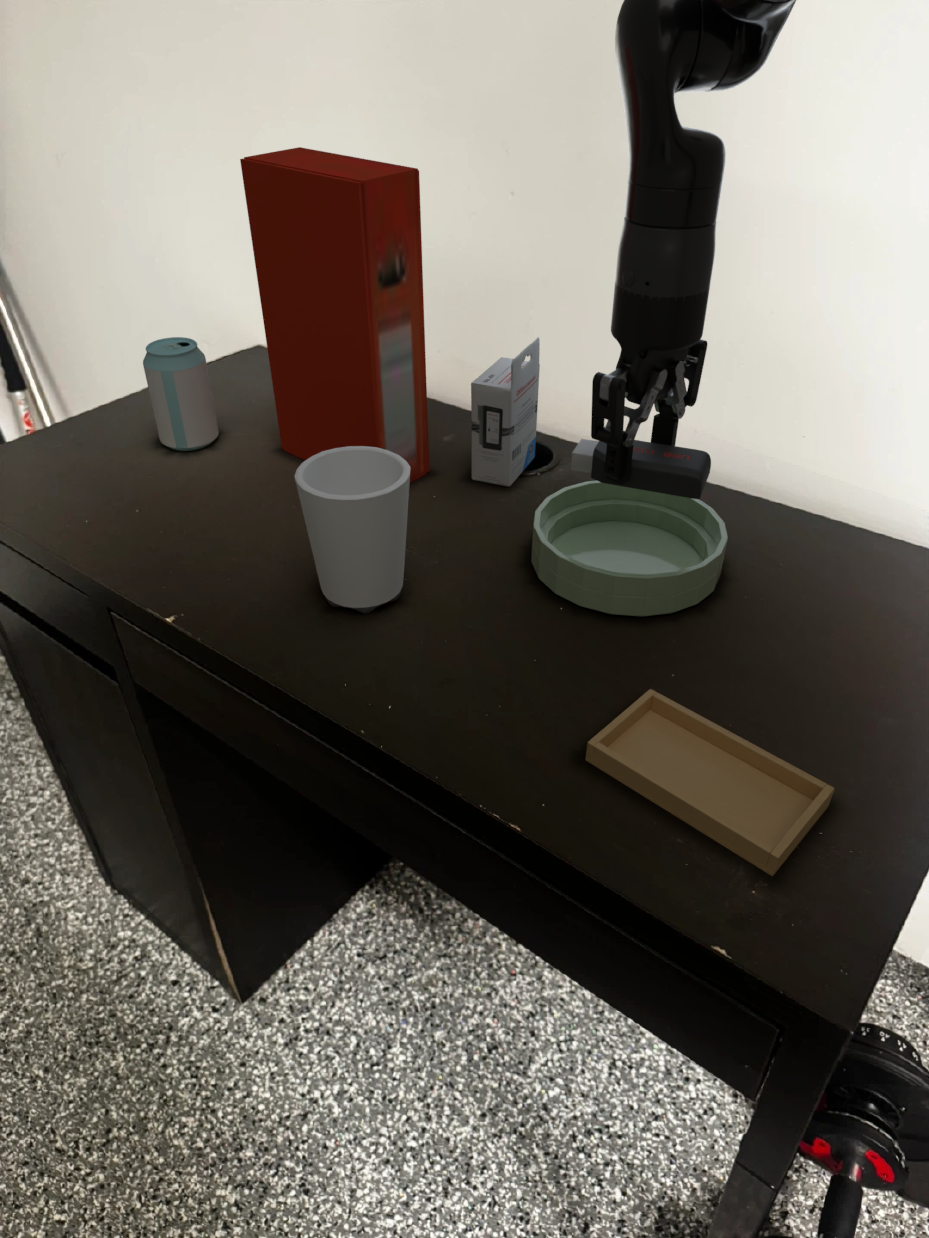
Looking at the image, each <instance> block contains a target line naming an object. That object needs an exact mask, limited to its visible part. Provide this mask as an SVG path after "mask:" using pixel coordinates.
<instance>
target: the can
mask: <svg viewBox="0 0 929 1238" xmlns="http://www.w3.org/2000/svg"><path fill="white" fill-rule="evenodd" d="M145 351H146V354H145V355H144V358H143V360H142V366H143V370H144V375H145V380H146V384H147V388H148V392H149V397H150V402H151V406H152V410H153V415H154V420H155V425H156V429H157V433H158V438H159V441H160V443H161V444H162V445H163V446H166V447H168V448H170V449H172V450H175V451H181V452H189V451H195V450H196V451H197V450H200V449H203V448H206V447H208V446H209V445H211V444H212V443H213V442H214V441H215V440H216V439H217V438H218V437H219V434H220V433H219V426H218V421H217V415H216V409H215V404H214V403H215V402H214V397H213V392H212V386H211V382H210V381H211V380H210V376H209V375H210V374H209V370H208V365H207V359H206V355H205V354H204V352H203V351H202V350H201V349H200V348H199V347H198V342H197V341H196V340H194V339H192V338H190V337H182V336H174V337H164V338H159V339H156V340H154V341H151V342H150V343H148V344H147V345H145Z"/></svg>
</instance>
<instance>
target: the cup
mask: <svg viewBox="0 0 929 1238" xmlns="http://www.w3.org/2000/svg"><path fill="white" fill-rule="evenodd" d="M410 468H411V467H410V466H409V464H408V463H407V461H406V460H405V459H403V458H402V457H401V456H399V455H397V454H395V453H393V452H391V451H388V450H385V449H381V448H377V447H368V446H348V447H341V448H334V449H330V450H326V451H322V452H320V453H318V454H316V455H313V456H311V457H310V458H308V459H307V460H303V461H302V462H301V463H300V464H299V466H298V467H297V469H296V470H295V474H294V481H295V485H296V489H297V494H298V498H299V503H300V506H301V511H302V514H303V519H304V524H305V528H306V532H307V535H308V536H307V537H308V541H309V544H310V545H309V546H310V549H311V553H312V556H313V561H314V565H315V570H316V574H317V579H318V582H319V586H320V590H321V592H322V594H323V595H324V597H325V600H326V602H328V604H329V605H330V606H331V607H334V608H339V607H343V608H349V609H351V610H355V611H357V612H359V613H361V614H369V613H371V612H372V611H374V610H375V609H376V608H378V607H380V606H381V605H384V604H386V603H390V602H395V601H398V599H399V597H400V595H401V593H402V589H403V587H404V575H405V562H406V561H405V560H406V546H407V545H406V544H407V529H408V516H409V515H408V513H409V500H410V499H409V497H410V483H411V482H410Z"/></svg>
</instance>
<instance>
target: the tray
mask: <svg viewBox="0 0 929 1238" xmlns="http://www.w3.org/2000/svg"><path fill="white" fill-rule="evenodd" d="M584 760H585V761H586V762H587V763H589V764H591V765H592V766H594V767H595V768H597V769H598V770H600V771H602V772H604V773H605V774H607V775H608V776H610V777H611V778H613V779H614V780H617V781H618V782H620V783H621V784H623V785H625V786H626V787H628V788H629V789H631V790H633V791H634V792H636V793H637V794H638V795H641V796H642V797H644V798H645V799H647V800H648V801H650V802H652V803H654V804H655V805H656V806H658V807H660V808H662V809H663V810H665V811H666V812H668V813H669V814H671V815H673V816H674V817H676V818H677V819H679V820H681V821H683V823H686V824H687V825H689V826H690V827H692V828H694V829H695V830H697V831H698V832H700V833H702V834H703V835H705V836H706V837H708V838H710V839H711V840H713V841H714V842H716V843H717V844H719V845H721V846H722V847H724V848H726V849H727V850H729V851H731V852H732V853H734V854H736V855H737V856H738V857H740V858H741V859H743V860H745V861H747V862H748V863H750V864H751V865H753V866H755V867H756V868H758V869H759V870H761V871H763V872H765V873H766V874H767V875H769V876H771V877H773V876H774V875H775V874H776V873H777V872H778V870H779V869H780V868H781V867H782V866H783V864H784V863H785V862H786V860H787V859H788V858H789V857H790V855H791V854H792V853H793V852H794V851H795V849H796V848H797V847H798V845H800V843H801V841H802V840H804V838H805V836H806V835H807V834H808V833H809V832H810V830H811V829H812V828H813V826H814V825H816V823H817V822H818V821H819V819H820V818H821V816H822V815H823V814H824V813H825V811H826V810H827V809H828V808H829V806H830V803H831V800H832V798H833V795H834V792H835V788H836V787H834V786H832V785H830V784H828V783H826V782H824V781H822V780H821V779H819V778H817V777H815V776H813V775H811V774H809V773H807V772H806V771H804V770H802V769H800V768H798V767H797V766H795V765H793V764H791V763H789V762H787V761H785V760H784V759H782V758H781V757H778V756H776V755H774V754H772V753H771V752H769V751H767V750H765V749H763V748H762V747H759V746H757V745H756V744H754V743H752V742H750V741H748V740H747V739H745V738H743V737H742V736H739V735H737V734H735V733H733V732H731V731H730V730H728V729H726V728H724V727H722V726H721V725H719V724H717V723H716V722H713V721H712V720H709V719H708V718H706V717H704V716H702V715H700V714H699V713H696V712H695V711H693V710H691V709H689V708H687V707H686V706H683V705H681V704H680V703H678V702H676V701H674V700H672V699H671V698H668V697H667V696H665V695H663V694H661V693H659V692H657V691H656V690H654V689H652V688H650V689H648V690H647V691H646V692H644V693H643V694H642V695H641V696H640V697H638V698H637V700H635V701H633V703H631V704H630V705H629V706H628V707H627V708H626V709H624V710H623V711H622V712H621V713H620V714H619V715H618V716H617V717H615V718H614V719H613V720H612V721H611V722H609V723H608V724H607V725H606V726H604V728H602V729H601V730H600V731H599V732H598V733H596V735H594V736H593V737H592V738H591V739H589V740H588V741H587V744H586V752H585V759H584Z"/></svg>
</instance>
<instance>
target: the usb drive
mask: <svg viewBox="0 0 929 1238" xmlns="http://www.w3.org/2000/svg"><path fill="white" fill-rule="evenodd" d="M633 445H634V446H633V455H632V463H631V472H630V479H629V481H628V482H626V483H624V484H622V485H621V484H618V483H615V482H613V481H610V480H608V479H607V478H606V477H605V471H604V470H605V461H606V450H607V444H606V443H603V442H601V441H598V440H594V439H585V438H581V439H580V440H579V442H578V443H577V444H576V446H575V447H574V449H573V450H572V452H571V462H570V471H573V472H574V471H575V472H580V473H586V474H590V478H591V479H593V480H594V481H596V480H597V481H599V482H601V483H605V484H611V485H617V486H623V487H629V488H634V489H640V490H646V491H652V492H658V493H663V494H669V495H675V496H681V497H687V498H693V499H699V500H700V499H701V497H702V495H703V492H704V490H705V486H706V484H707V481H708V478H709V477H710V474H711V468H712V459H711V456H710V454H709V453H708V452H707V451H704V450H700V449H696V448H691V447H690V448H689V447H683V446H676V445H675V446H670V445H664V444H658V443H651V441H644V440H637V439H634V442H633Z"/></svg>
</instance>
